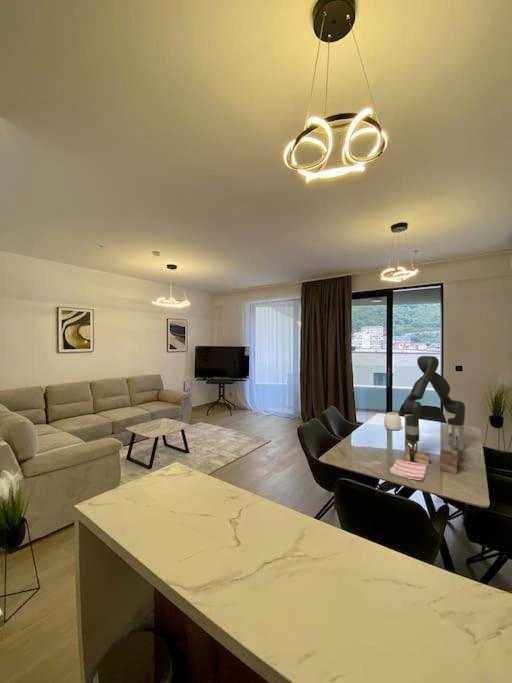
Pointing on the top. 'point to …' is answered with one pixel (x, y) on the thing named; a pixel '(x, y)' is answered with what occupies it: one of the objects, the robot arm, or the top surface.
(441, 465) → the wooden block holder
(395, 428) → the cup
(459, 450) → the robot arm
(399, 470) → the dish towel
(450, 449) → the bracket
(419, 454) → the tan rectangular block
